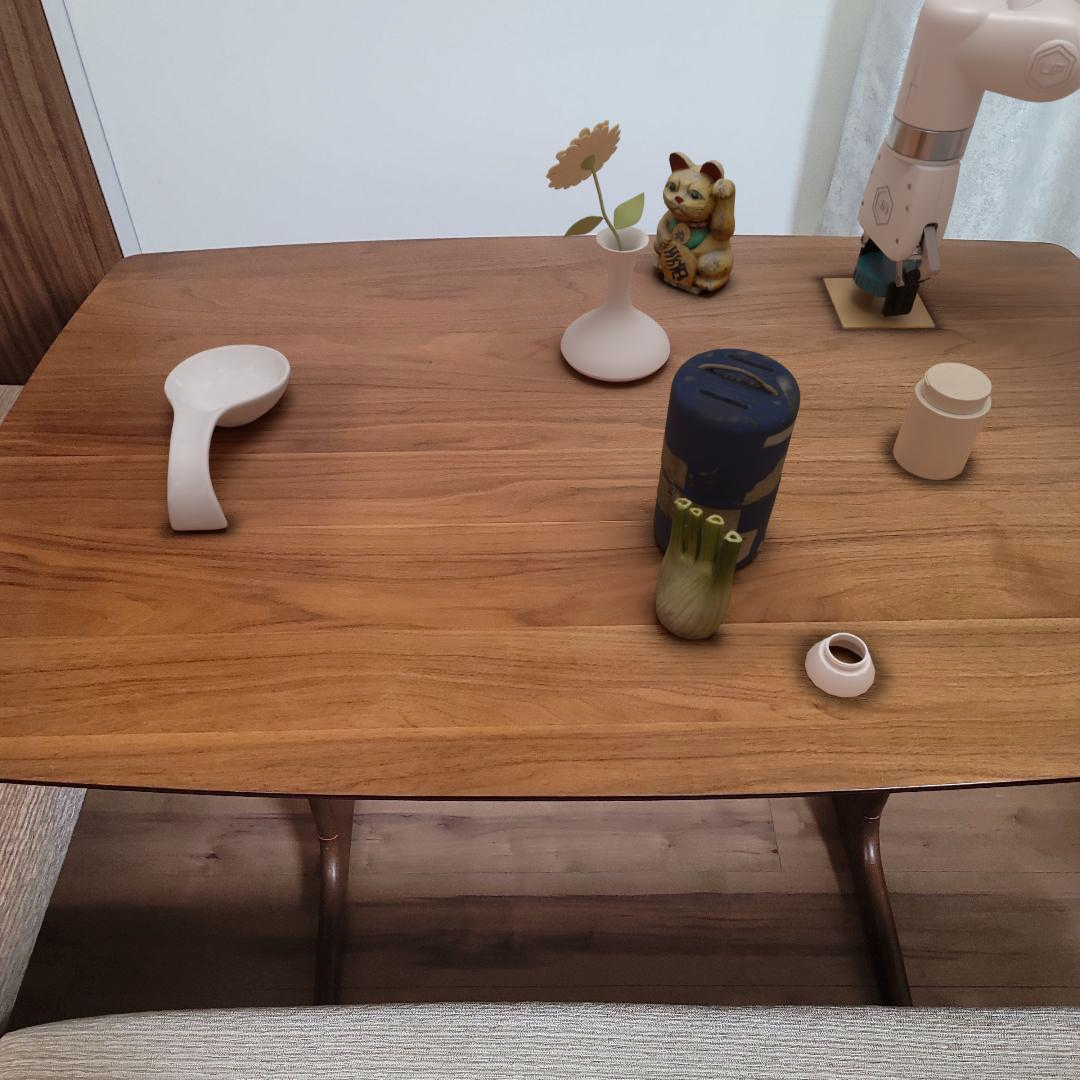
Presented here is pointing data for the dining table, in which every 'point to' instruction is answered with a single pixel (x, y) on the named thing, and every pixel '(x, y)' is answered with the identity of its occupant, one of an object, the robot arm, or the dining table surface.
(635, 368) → the flower in vase
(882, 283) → the lid
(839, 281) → the coaster
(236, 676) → the dining table surface
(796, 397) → the canister
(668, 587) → the fennel bulb
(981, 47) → the robot arm
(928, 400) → the jar
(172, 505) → the spoon rest
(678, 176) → the decorative figurine
